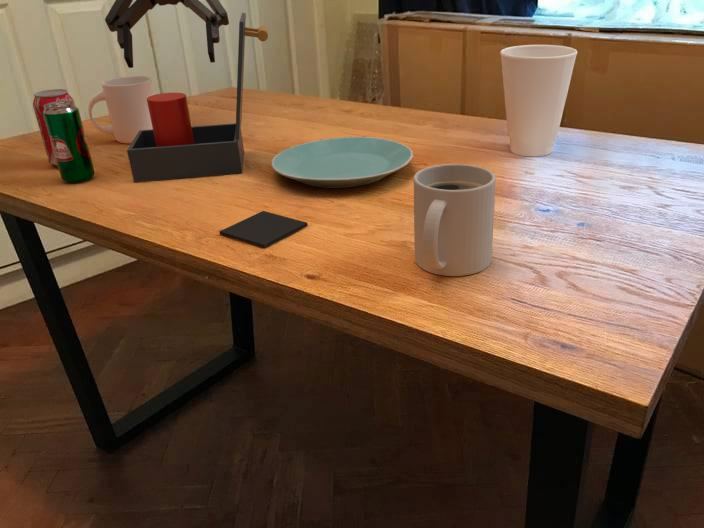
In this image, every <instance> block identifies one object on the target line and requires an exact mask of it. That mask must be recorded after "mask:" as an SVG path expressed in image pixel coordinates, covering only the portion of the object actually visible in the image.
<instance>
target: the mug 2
mask: <svg viewBox="0 0 704 528" xmlns="http://www.w3.org/2000/svg"><path fill="white" fill-rule="evenodd" d="M496 179H497V178H496V175H495V173H494V172H493V171H491V170H490V169H487V168H485V167H484V166H483V167H482V166H479V165H474V164H469V163H468V164H467V163H443V164H436V165H431V166H428V167H424V168H422V169H420V170H419V171H417V172H416V173H414V176H413V227H414V228H413V230H414V232H413V233H414V235H413V236H414V261H415V263H416V265H417V266H418V267H419V268H420V269H422V270H423V271H425V272H427V273H431V274H434V275H438V276H444V277H463V276H470V275H474V274H477V273H480V272H482V271H484V270H486V269H487V268H488V267H489V266H490V265H491V263H492V261H493V246H494V245H493V244H494V243H493V241H494V222H495V203H496V184H497V183H496V182H497V181H496Z"/></svg>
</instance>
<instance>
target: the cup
mask: <svg viewBox="0 0 704 528" xmlns="http://www.w3.org/2000/svg"><path fill="white" fill-rule="evenodd" d="M499 55H500V61H501V71H502V83H503V94H504V106H505V107H504V108H505V119H506V131H507V136H508V137H509V146H510V152H511V153H512V154H515V155H517V156H522V157H529V158H530V157H531V158H533V157H543V156H547V155H550V154H552V153H553V150H554V144H555V141H556V138H557V137H558V136H559V131H560V127H561V122H562V119H563V114H564V110H565V105H566V101H567V97H568V92H569V88H570V84H571V80H572V76H573V72H574V71H573V70H574V67H575V63H576V59H577V55H578V50H577V49H576V48H573V47H571V46H566V45H558V44H524V45H522V44H521V45H515V46H509V47H505V48H503V49H501V50H500V52H499Z"/></svg>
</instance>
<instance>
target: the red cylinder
mask: <svg viewBox="0 0 704 528" xmlns="http://www.w3.org/2000/svg"><path fill="white" fill-rule="evenodd" d="M147 103H148V108H149V113H150V118H151V123H152V128H153V132H154V137H155V142H156V147H163V146H176V145H189V144H195V143H194V138H193V132H192V121H191V116H190V111H189V110H190V109H189V104H188V98H187V95H186V93H182V92H163V93H157V94H154V95H152V96H150V97H148V98H147Z"/></svg>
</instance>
